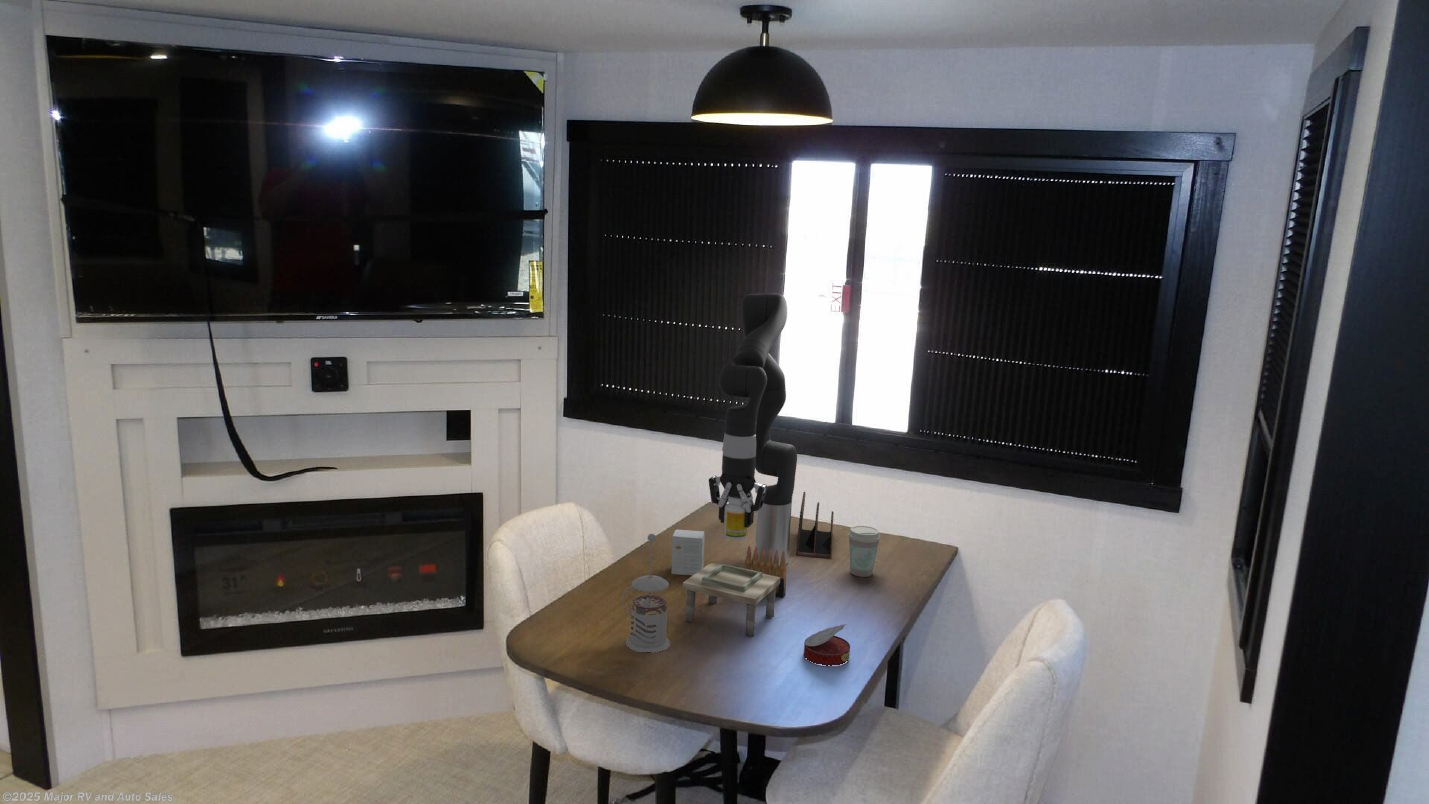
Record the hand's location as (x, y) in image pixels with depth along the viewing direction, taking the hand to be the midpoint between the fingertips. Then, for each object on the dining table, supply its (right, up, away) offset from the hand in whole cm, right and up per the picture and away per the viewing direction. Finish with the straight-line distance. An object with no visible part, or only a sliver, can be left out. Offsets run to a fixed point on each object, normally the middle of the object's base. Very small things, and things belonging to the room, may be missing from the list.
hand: (735, 524), depth 221 cm
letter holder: (+24, -14, +57) cm, 63 cm away
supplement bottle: (0, -3, +1) cm, 3 cm away
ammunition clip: (+8, -20, +20) cm, 29 cm away
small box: (-12, -17, +32) cm, 38 cm away
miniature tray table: (-1, -23, +4) cm, 23 cm away
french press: (-20, -25, -10) cm, 33 cm away
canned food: (+19, -27, -12) cm, 36 cm away
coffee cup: (+34, -18, +37) cm, 54 cm away
